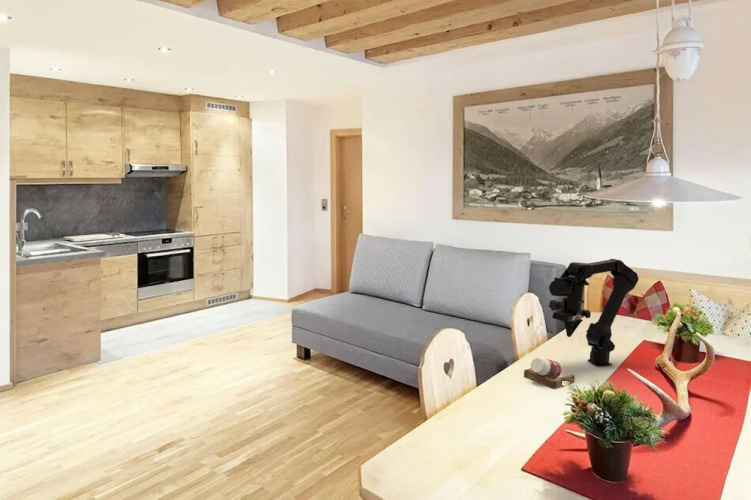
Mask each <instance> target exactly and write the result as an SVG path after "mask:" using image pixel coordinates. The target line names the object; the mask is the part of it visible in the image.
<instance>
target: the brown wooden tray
mask: <svg viewBox="0 0 751 500" xmlns="http://www.w3.org/2000/svg"><path fill="white" fill-rule="evenodd" d="M523 377H524V378H526V379H529V380H530V381H531V380H532V381H534V382H536V383H539V384H541V385H543V386H545V387H548V388H551V389H553V390H554V389H558V388H560V387H561V388H562V387H564V386H563V385H562V381H568V382H570V384H573V383H575V379H576V376H575V375H574V374H573V373H569V374H566V375H563V376H561V377H560V376H559V377H557V378H550V377H547V376H542V375H539V374H538V373H536V372H534V371H533V370H532V369H531V367H530V368H528V369H523Z"/></svg>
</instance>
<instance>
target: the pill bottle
mask: <svg viewBox="0 0 751 500" xmlns="http://www.w3.org/2000/svg"><path fill="white" fill-rule="evenodd" d="M530 368H531V369H532V370H533V371H534V372H536V373H538V374H539V375H542V376H545V377H548V378H550V379H557V378H560V376H561V374H562V372H563V367H562V365H561V363H560V362H558V361H556V360H552V359H549V358H546V357H541V358H540V357H535V358H533V359H532V360H531V363H530Z"/></svg>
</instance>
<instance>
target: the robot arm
mask: <svg viewBox="0 0 751 500" xmlns="http://www.w3.org/2000/svg"><path fill="white" fill-rule="evenodd" d="M607 272H609V273H610V275H611V276H612V277H613V278H612V290H611V292H610V295H609V297H608V300H607V301H606V304H605V306H604V308H603V309H602V312H601V314H600V315H599V318H598V320H597V321H596V322H595V323H593V322H591V323H589V325H588V328H587V330H586V331H585V332H586V334H585V338H586V340H587V346H589V347H590V349H591V351H589V359H587V362H589V363H591V364H593V365H595V366H597V367H604V366H605V367H606V366H612V363H611V362H610V356H611V355H610V354H611V352H613V351H614V350H615V348H616V345H615V343H614V342H613V341H612V340H611V339H612V336H613V334H612V325H613V322H615V321H614V320H615V318H616V317H617V315H618V312H619V310H620V308H621V306H622V305H623V302H624V300H625V297H626V295H627V294H628V293H630V292H631V291H633V290H634V288H635V287H636V285H637V284H638V283H639V278H640V277H639V276H638V273H637V272H636V271H634V270H633V269H632V268H631V267H629V266H628V265H627V264H625V263H624V261H623V260H620V259H616V258H610V259H606V260H600V261H599V260H598V261H594V262H587V263H586V262H576V261H573V262H570V263H569V264H568V266H567V267H566V269H565V270H564V271H563V273H562V274H561V276H560V277H554V278H553V279H554V280H553V281H551V282H550V283H549V286H548V291H549V294H550V295H551V296H553V297H563V298H562V301H557V300H556V299H551V300H549V303H548V308H550V311H551V312H553V313H552V315H551V319H554V320H559V321H562V322H563V323H564V327H565V334H566V337H568V338H571V337H572V335H573V334H574V333H575V331H576V330H577V328H578V327H579V325H580V324H582V322H583V321H584V319H581V317H580V316H582V317H585V319H590V318H591V315H592V313H591V311H590V309H586V308H582V304H585V300H584V298H583V297H584V289H585V286H590V283H589V282H588V281H587V279H590V278H592V276H593V275H597V274H601V273H603V274H604V273H607Z"/></svg>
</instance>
